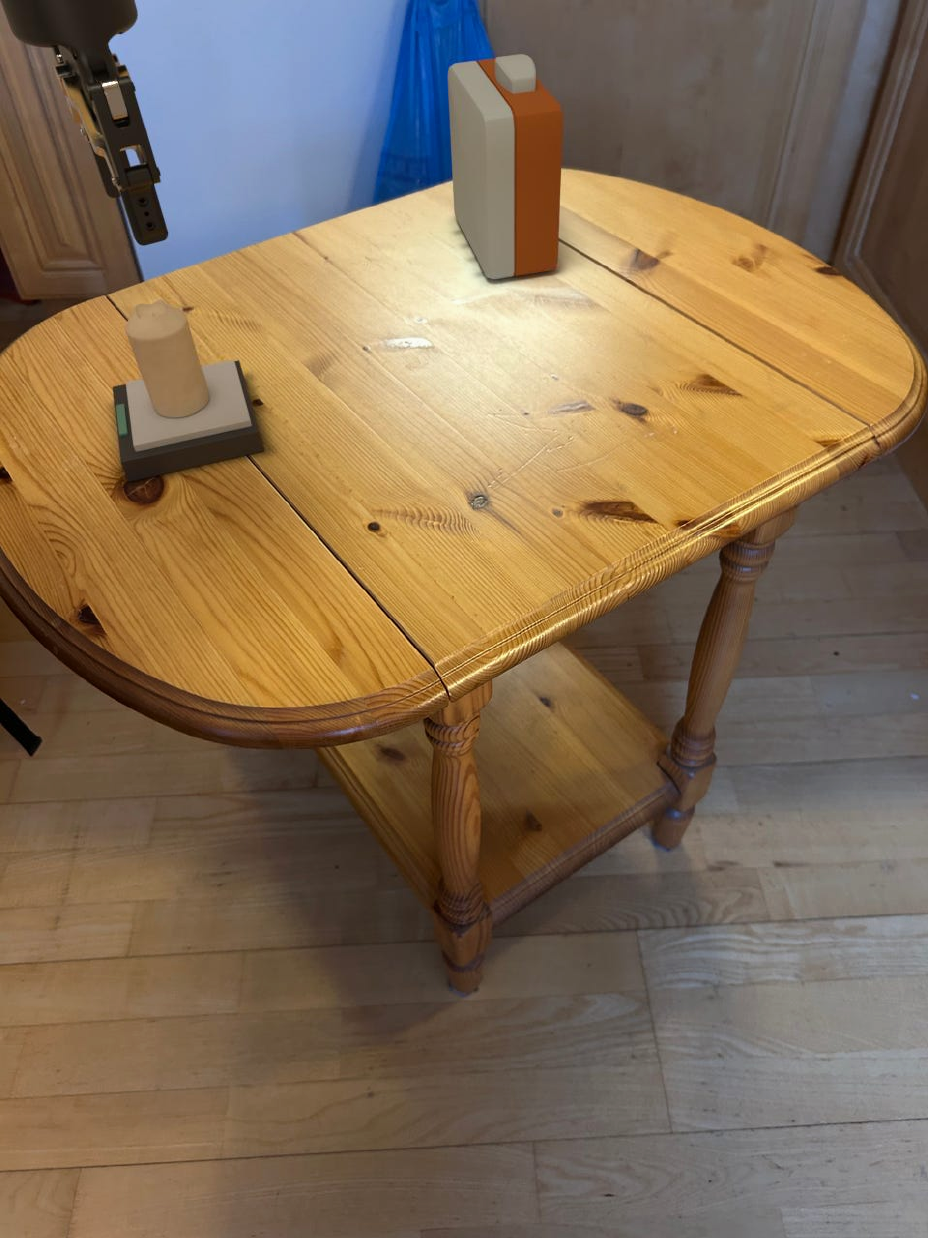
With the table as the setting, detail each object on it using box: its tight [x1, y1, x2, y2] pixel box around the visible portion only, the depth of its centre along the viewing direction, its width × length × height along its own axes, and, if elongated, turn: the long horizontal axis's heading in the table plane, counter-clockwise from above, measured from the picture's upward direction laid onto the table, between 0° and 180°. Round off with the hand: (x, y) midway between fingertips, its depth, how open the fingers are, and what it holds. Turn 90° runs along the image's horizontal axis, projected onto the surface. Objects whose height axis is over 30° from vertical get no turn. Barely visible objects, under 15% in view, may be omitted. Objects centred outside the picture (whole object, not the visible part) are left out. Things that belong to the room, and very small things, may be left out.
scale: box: [112, 359, 265, 483], centre depth 89 cm, size 13×13×3 cm
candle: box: [124, 299, 209, 418], centre depth 84 cm, size 6×6×10 cm
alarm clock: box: [447, 53, 564, 280], centre depth 105 cm, size 18×9×21 cm, turn 13°
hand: (137, 216), depth 64 cm, fingers open, 8 cm apart
